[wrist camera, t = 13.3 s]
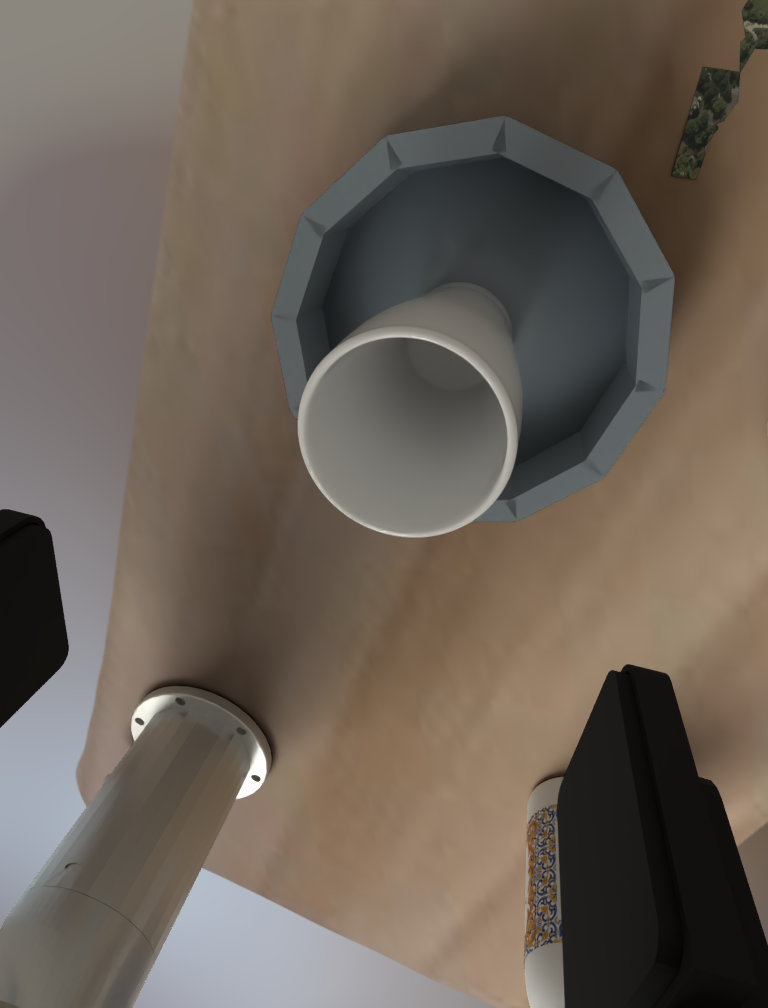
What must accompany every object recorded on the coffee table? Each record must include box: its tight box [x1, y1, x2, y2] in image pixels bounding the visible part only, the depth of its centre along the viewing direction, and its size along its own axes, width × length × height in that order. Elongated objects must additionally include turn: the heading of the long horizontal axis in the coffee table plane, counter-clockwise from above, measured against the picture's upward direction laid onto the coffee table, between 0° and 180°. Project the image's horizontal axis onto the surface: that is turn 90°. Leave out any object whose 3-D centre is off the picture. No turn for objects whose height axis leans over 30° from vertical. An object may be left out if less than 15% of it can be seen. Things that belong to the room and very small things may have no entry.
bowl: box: [271, 115, 675, 522], centre depth 29 cm, size 17×17×5 cm
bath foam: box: [524, 777, 565, 1008], centre depth 37 cm, size 7×7×20 cm
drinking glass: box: [298, 282, 523, 538], centre depth 24 cm, size 7×7×15 cm
